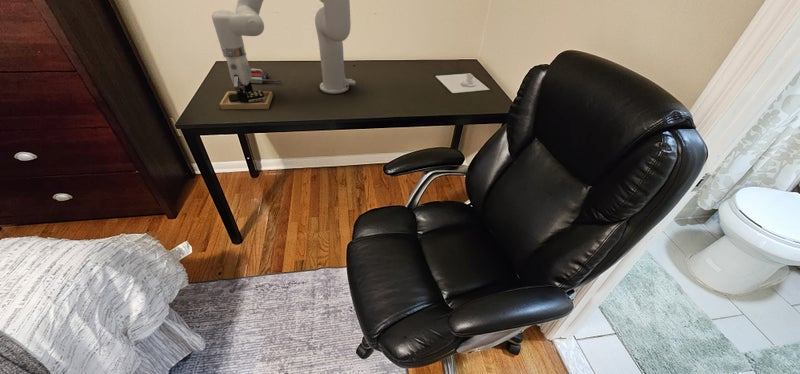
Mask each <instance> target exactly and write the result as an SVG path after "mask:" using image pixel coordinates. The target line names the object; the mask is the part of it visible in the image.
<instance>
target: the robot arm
mask: <svg viewBox="0 0 800 374" xmlns="http://www.w3.org/2000/svg"><path fill="white" fill-rule="evenodd" d="M319 2H320V3H322V4H323V6H322V7H320V8H319V9H318V10H317V11H316V12H315V16H314V24H315V30H316V35H317V40H318V47H319V48H318V49H319V56H320V57H319V58H320V67H321V76H322V82H321V83H320V84H319V89H320V91H321V92H323V93H326V94H332V95H333V94H334V95H335V94H337V95H338V94H343V93H345V92H347V91H348V90H349V89H350V86H356V80H353V78H346V75H345V59H344V58H345V57H344V44H343V43H344V41H346V39H348V37H349V35H350V33H351V27H352V26H351V23H352V22H351V1H350V0H319ZM263 3H264V0H237V2H236V7H235V12H233V11H231V10H216V11H213V13H212V14H211V19H212V23H213V27H214V29H215V33H216V36H217V39H218V42H219V45H220V49H221V53H222V55H223V57H224V58H225V59H226V63H227V68H228V73H229V77H230V79H231V82H232V85H233V88H234V89H235V92H237V95H238V98H239V101H240V103H248V102H249V100H248V96H247V93H246V92H252V91H254V89H253V86H252V85H253V84H252V83H251V78H252V73H251V70H250V69H251V67H250V64H249V60H248V58H247V51H246V48H245V43H244V40H243V39H244V38H243V36H244V37H258V36H260V35H261V34H263V33H264V31H265V23H264V21H263V19H262V17H261V16H260V12H261V8H262V5H263Z"/></svg>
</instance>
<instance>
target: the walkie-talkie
mask: <svg viewBox="0 0 800 374" xmlns="http://www.w3.org/2000/svg"><path fill="white" fill-rule="evenodd" d="M250 70H251V73H252V78H251V82H250V83H251V84H260V85H261V84H263V83H275V82H277V83H278V82H281V79H267V78H269V72H267V70H262V68H250Z"/></svg>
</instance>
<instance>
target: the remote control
mask: <svg viewBox="0 0 800 374" xmlns="http://www.w3.org/2000/svg"><path fill="white" fill-rule="evenodd" d="M262 91H263V90H260V89H259V90H253V91H252V92H246V93H247V96H248V100H249V102H255V101H261V100H264V99H265V96H264V93H263V92H262ZM229 101H230V103H240V101H239V98H238V95H237V94H231V95H229Z"/></svg>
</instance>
